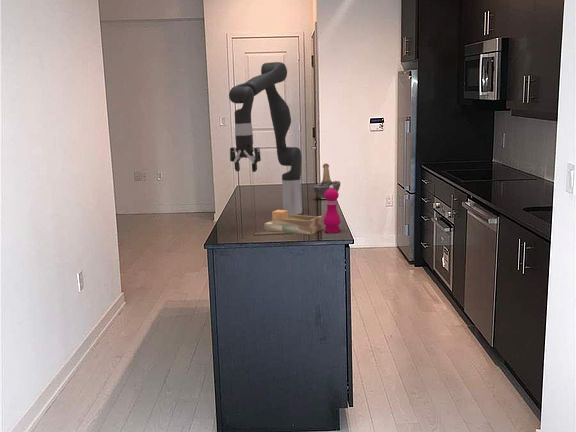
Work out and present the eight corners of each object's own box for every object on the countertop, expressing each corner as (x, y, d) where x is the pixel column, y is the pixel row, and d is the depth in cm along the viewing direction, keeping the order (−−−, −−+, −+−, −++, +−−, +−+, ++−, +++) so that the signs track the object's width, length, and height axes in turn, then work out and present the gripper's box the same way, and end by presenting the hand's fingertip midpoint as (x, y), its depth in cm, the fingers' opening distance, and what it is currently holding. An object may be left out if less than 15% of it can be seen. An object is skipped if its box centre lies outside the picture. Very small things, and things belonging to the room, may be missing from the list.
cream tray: (277, 225, 280) (276, 212, 279) (322, 229, 269) (322, 215, 268) (264, 230, 271) (264, 216, 270) (311, 234, 260) (311, 220, 259)
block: (278, 220, 276) (277, 209, 275) (288, 221, 274) (287, 210, 273) (272, 222, 272) (272, 211, 271) (282, 223, 269) (282, 212, 268)
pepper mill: (326, 229, 269) (325, 184, 265) (342, 229, 267) (341, 184, 263) (322, 232, 262) (321, 186, 258) (338, 233, 260) (337, 186, 256)
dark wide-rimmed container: (340, 196, 356) (340, 161, 352) (340, 200, 340) (339, 165, 336) (315, 196, 357) (314, 162, 354) (313, 201, 341) (312, 165, 337)
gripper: (262, 133, 262) (264, 170, 266) (234, 133, 269) (237, 169, 273) (253, 134, 256) (255, 173, 259) (225, 134, 263) (227, 172, 266)
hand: (245, 171), depth 266 cm, fingers open, 8 cm apart
